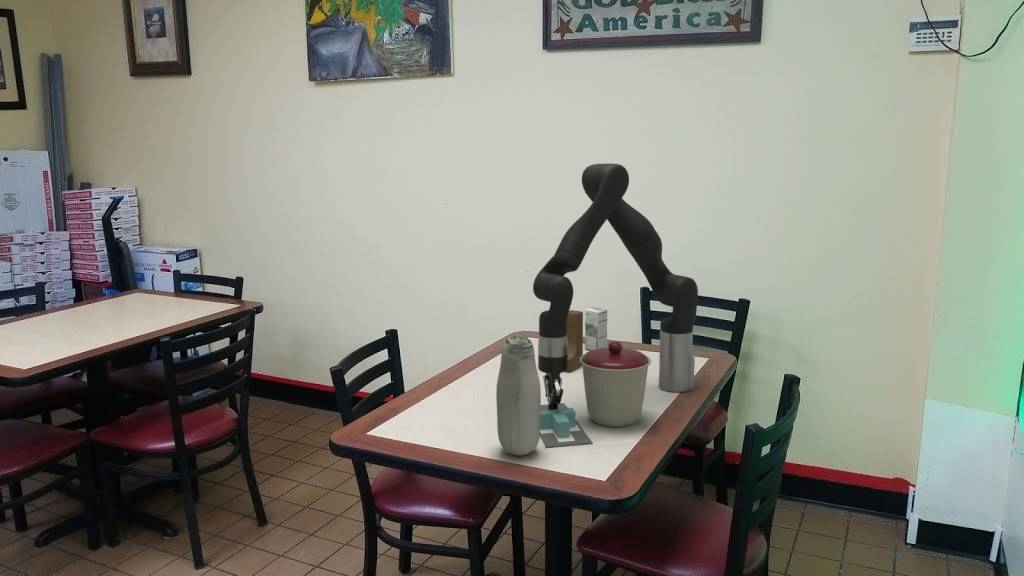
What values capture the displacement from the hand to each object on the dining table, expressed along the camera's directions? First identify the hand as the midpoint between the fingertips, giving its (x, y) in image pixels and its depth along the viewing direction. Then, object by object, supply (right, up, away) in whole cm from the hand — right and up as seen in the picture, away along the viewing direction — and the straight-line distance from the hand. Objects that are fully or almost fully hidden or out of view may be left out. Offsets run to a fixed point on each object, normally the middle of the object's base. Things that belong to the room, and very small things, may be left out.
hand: (552, 416), depth 192 cm
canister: (+16, -1, +1) cm, 16 cm away
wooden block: (+8, +7, +46) cm, 47 cm away
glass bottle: (-9, -6, -18) cm, 21 cm away
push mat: (+1, -2, -1) cm, 2 cm away
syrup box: (+19, +12, +67) cm, 70 cm away
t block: (+1, -2, -6) cm, 7 cm away
